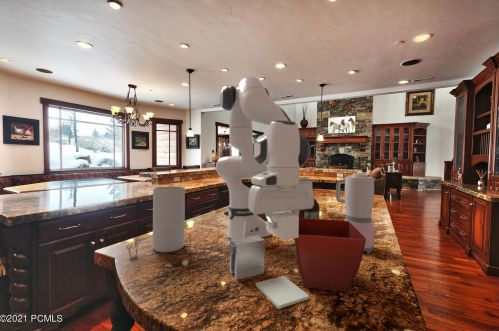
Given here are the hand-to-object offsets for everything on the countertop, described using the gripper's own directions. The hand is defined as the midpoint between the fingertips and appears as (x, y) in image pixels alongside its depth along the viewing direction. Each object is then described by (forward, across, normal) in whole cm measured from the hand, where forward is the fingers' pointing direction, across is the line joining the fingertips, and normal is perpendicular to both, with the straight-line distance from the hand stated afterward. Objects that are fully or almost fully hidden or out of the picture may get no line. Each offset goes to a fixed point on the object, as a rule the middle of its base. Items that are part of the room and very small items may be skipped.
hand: (282, 226), depth 66 cm
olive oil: (+19, -35, -30) cm, 50 cm away
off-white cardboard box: (+2, 0, 0) cm, 2 cm away
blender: (+19, -48, -15) cm, 54 cm away
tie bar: (+11, +4, -14) cm, 18 cm away
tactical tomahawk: (+19, -19, -20) cm, 34 cm away
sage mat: (+19, 0, 0) cm, 19 cm away
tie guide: (+19, +4, -14) cm, 24 cm away
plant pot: (+19, -16, 0) cm, 25 cm away
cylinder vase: (+19, +24, -48) cm, 57 cm away
